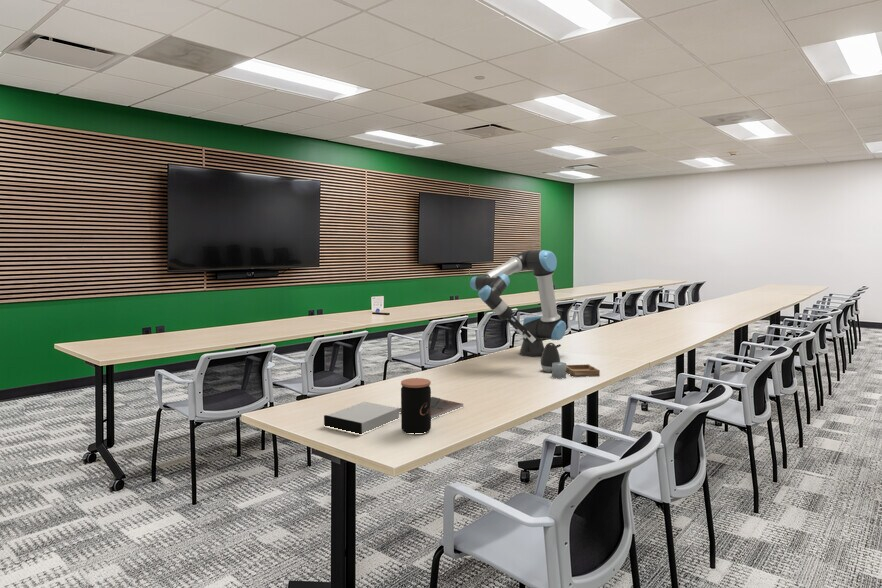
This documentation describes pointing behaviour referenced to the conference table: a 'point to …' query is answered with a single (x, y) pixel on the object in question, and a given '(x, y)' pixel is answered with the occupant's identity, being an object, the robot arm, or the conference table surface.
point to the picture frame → (441, 406)
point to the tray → (582, 370)
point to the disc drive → (361, 417)
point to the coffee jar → (415, 405)
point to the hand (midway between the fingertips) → (530, 339)
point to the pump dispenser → (549, 356)
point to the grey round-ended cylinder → (558, 370)
